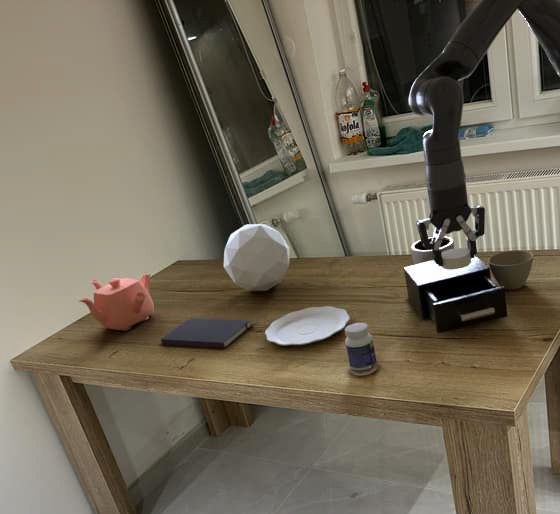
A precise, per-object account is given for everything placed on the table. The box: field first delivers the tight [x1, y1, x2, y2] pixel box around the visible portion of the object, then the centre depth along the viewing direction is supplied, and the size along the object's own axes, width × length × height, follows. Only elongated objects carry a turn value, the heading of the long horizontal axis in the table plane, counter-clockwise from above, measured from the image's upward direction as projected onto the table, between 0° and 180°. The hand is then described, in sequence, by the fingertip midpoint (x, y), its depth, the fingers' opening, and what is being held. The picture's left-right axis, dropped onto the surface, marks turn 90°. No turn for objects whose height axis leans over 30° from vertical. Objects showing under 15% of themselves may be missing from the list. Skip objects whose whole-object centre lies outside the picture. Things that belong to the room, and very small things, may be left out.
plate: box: [264, 305, 351, 346], centre depth 167 cm, size 21×21×2 cm
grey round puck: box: [441, 247, 471, 270], centre depth 143 cm, size 6×6×2 cm
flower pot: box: [487, 249, 534, 291], centre depth 161 cm, size 10×10×7 cm
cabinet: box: [403, 255, 492, 321], centre depth 161 cm, size 14×17×9 cm
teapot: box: [77, 273, 155, 332], centre depth 199 cm, size 18×18×14 cm
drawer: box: [422, 273, 508, 334], centre depth 149 cm, size 17×15×7 cm
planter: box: [410, 236, 455, 265], centre depth 175 cm, size 11×11×10 cm
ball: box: [223, 223, 290, 292], centre depth 198 cm, size 19×20×20 cm
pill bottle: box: [344, 322, 378, 377], centre depth 141 cm, size 6×6×10 cm
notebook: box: [160, 317, 252, 349], centre depth 179 cm, size 13×2×21 cm
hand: (455, 261), depth 143 cm, fingers closed on grey round puck, 6 cm apart
